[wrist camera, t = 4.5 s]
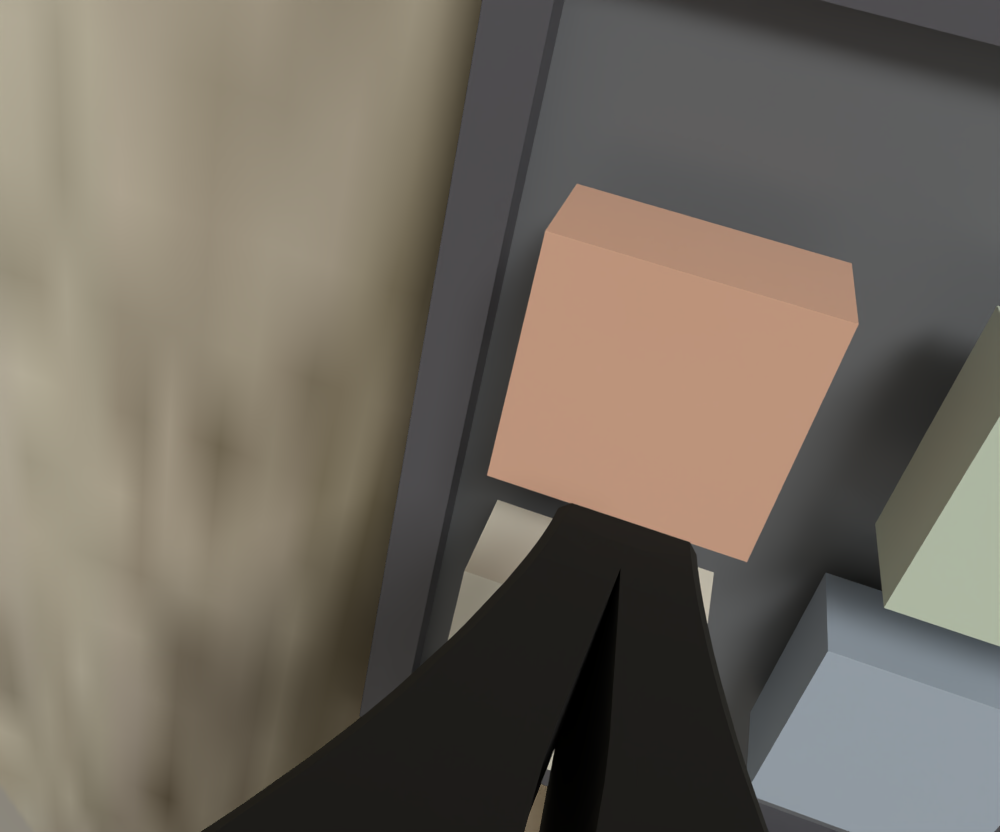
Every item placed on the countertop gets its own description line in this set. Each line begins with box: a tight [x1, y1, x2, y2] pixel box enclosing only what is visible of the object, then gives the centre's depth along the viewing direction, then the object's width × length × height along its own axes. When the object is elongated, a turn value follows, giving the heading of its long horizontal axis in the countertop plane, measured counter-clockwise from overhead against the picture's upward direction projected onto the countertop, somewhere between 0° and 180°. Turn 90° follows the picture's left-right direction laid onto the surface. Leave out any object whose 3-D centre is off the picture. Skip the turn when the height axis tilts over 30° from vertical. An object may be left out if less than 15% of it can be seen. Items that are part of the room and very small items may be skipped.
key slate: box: [747, 573, 1000, 832], centre depth 17 cm, size 4×4×2 cm
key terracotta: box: [487, 184, 859, 562], centre depth 14 cm, size 4×4×2 cm
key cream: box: [448, 500, 714, 770], centre depth 17 cm, size 4×4×2 cm
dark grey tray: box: [360, 0, 1000, 832], centre depth 17 cm, size 14×18×2 cm
